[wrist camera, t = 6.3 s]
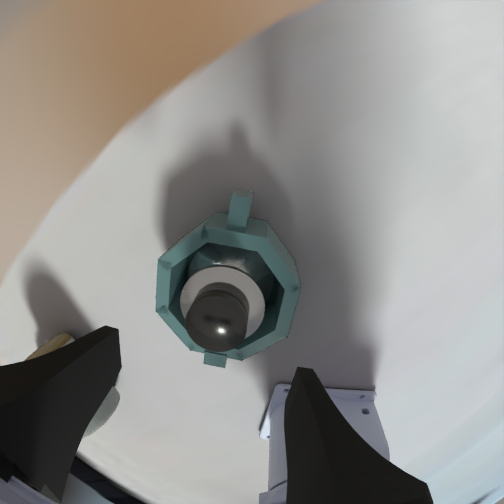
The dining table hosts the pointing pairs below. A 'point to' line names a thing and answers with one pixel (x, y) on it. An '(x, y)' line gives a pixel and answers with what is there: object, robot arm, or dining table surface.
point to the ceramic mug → (108, 403)
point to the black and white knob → (225, 296)
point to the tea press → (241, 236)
